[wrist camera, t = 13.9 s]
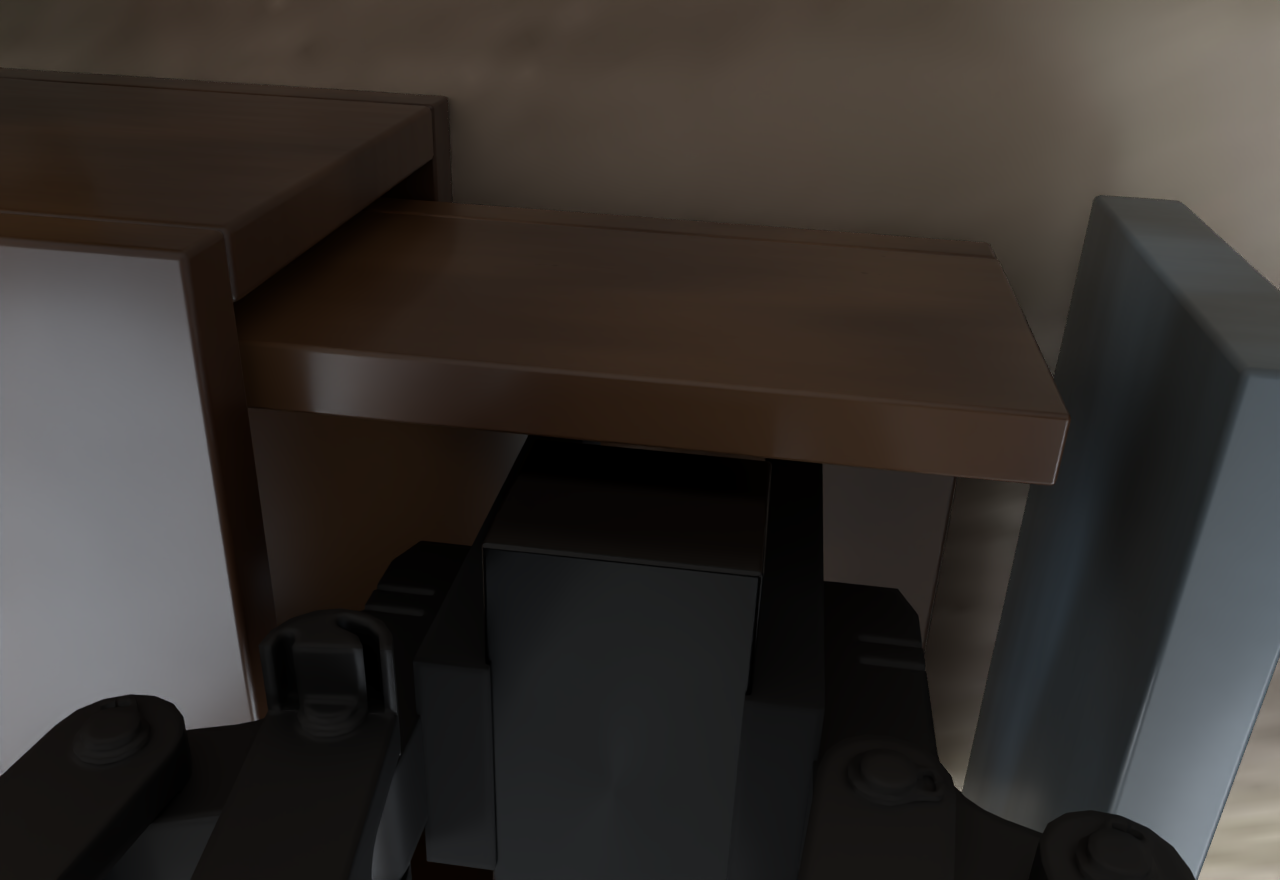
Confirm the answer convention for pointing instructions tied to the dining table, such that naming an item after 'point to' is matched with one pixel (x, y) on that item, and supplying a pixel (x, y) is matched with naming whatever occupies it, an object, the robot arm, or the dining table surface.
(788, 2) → the dining table surface
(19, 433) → the cabinet
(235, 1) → the dining table surface
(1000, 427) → the drawer
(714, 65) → the dining table surface
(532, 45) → the dining table surface
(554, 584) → the black rectangular block
